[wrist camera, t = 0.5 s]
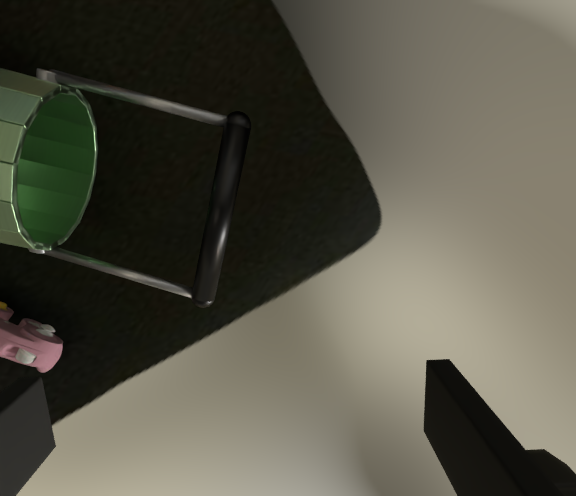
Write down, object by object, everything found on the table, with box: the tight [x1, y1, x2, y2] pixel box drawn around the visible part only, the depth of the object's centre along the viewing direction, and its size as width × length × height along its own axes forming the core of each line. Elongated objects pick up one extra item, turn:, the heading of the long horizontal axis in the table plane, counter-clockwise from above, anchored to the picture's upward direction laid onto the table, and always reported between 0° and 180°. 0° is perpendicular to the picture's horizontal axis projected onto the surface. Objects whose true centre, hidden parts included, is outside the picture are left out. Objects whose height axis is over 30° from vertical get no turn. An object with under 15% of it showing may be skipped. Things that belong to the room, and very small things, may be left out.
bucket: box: [0, 68, 251, 308], centre depth 26 cm, size 11×13×22 cm
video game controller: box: [0, 302, 63, 372], centre depth 32 cm, size 10×5×7 cm, turn 55°
